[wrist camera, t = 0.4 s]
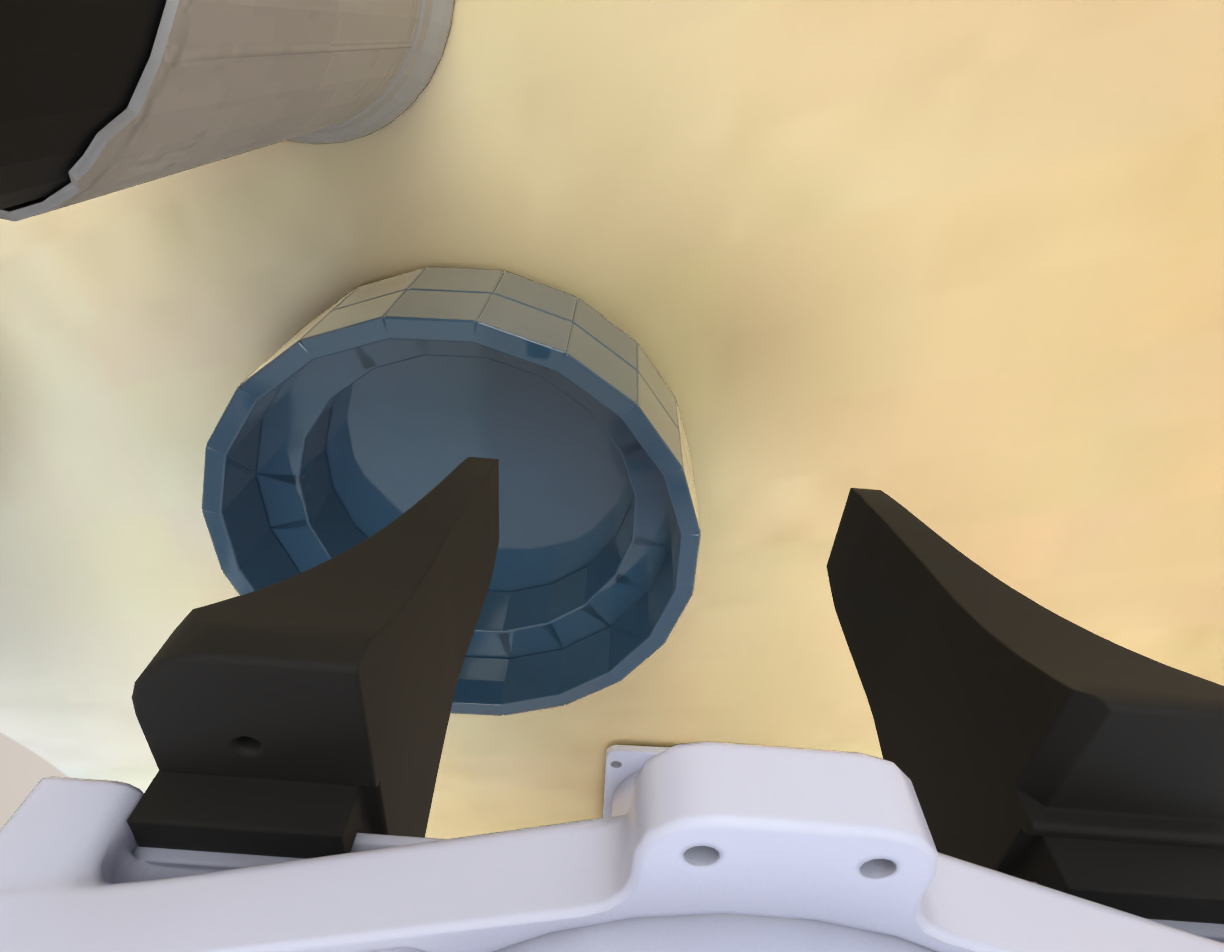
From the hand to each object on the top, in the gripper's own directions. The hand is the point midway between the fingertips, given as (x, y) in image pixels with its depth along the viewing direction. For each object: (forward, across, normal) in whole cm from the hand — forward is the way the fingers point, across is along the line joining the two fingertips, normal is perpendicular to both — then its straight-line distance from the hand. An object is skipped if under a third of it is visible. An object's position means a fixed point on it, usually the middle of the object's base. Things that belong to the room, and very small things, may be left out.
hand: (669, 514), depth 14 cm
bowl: (+10, +6, +5) cm, 13 cm away
